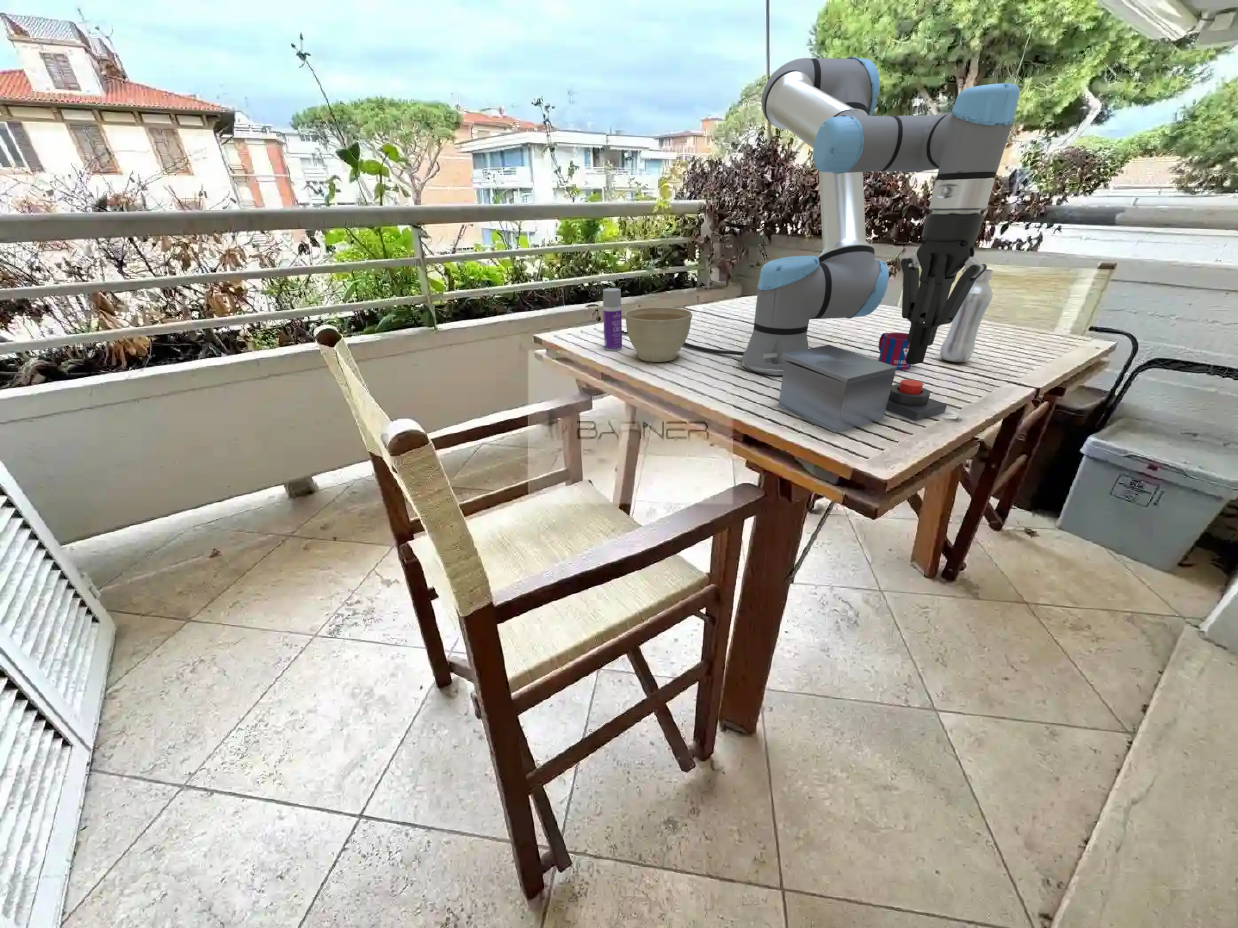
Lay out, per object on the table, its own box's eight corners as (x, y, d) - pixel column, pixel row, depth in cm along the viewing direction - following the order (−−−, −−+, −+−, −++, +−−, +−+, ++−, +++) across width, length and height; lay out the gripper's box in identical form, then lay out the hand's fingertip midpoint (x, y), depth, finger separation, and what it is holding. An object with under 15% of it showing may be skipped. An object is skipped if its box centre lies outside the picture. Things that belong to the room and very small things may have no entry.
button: (893, 390, 89) (896, 381, 88) (906, 387, 90) (909, 378, 89) (911, 396, 86) (914, 387, 85) (924, 393, 87) (927, 383, 86)
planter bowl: (703, 358, 119) (706, 313, 114) (652, 371, 111) (653, 323, 106) (661, 345, 131) (662, 303, 125) (612, 356, 123) (611, 312, 117)
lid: (781, 357, 87) (782, 353, 87) (828, 348, 92) (829, 344, 91) (846, 383, 76) (847, 378, 76) (895, 371, 81) (897, 367, 80)
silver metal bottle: (960, 357, 116) (990, 267, 106) (975, 365, 110) (1008, 272, 100) (932, 356, 116) (958, 268, 107) (945, 365, 110) (975, 272, 101)
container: (615, 351, 126) (614, 291, 119) (601, 349, 128) (598, 290, 121) (625, 347, 129) (624, 288, 122) (610, 345, 132) (609, 287, 124)
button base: (866, 403, 92) (870, 385, 90) (894, 395, 95) (899, 378, 93) (915, 421, 84) (921, 403, 82) (944, 412, 87) (950, 394, 85)
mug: (886, 370, 108) (894, 340, 105) (866, 357, 117) (872, 329, 113) (916, 370, 108) (925, 339, 105) (893, 357, 117) (900, 328, 113)
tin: (777, 406, 91) (784, 361, 87) (822, 395, 96) (831, 352, 91) (835, 433, 80) (846, 383, 76) (882, 420, 85) (895, 371, 81)
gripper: (900, 212, 78) (867, 356, 89) (985, 213, 67) (935, 376, 79) (931, 211, 80) (895, 351, 92) (1016, 211, 70) (964, 369, 81)
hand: (914, 362), depth 85 cm, fingers closed
